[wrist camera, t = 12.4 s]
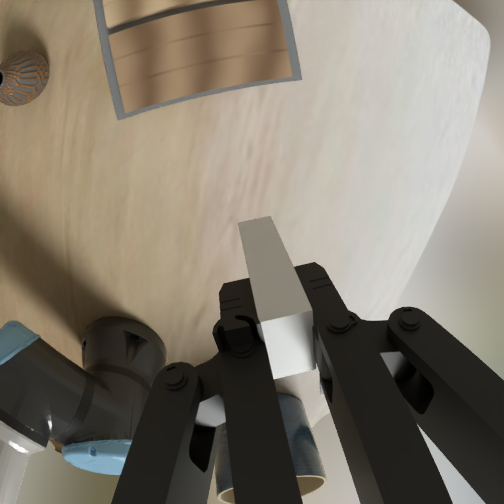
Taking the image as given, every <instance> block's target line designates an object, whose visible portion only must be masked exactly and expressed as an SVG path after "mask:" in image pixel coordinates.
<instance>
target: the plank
mask: <svg viewBox="0 0 504 504" xmlns="http://www.w3.org/2000/svg"><path fill="white" fill-rule="evenodd" d="M102 1H103V7H104V14H105V20H106V26H107V27H108V28H110V29H112V28H115V27H118V26H120V25H123V24H126V23H129V22H132V21H135V20H138V19H141V18H144V17H148V16H151V15H155V14H158V13H162V12H165V11H169V10H173V9H177V8H181V7H185V6H190V5H195V4H199V3H204V2H210V1H215V0H102Z"/></svg>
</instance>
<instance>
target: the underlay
mask: <svg viewBox="0 0 504 504" xmlns="http://www.w3.org/2000/svg"><path fill="white" fill-rule="evenodd" d="M245 1H254V0H215V1H210V2H204V3H199V4H195V5H190V6H185V7H181V8H177V9H173V10H169V11H165V12H162V13H158V14H155V15H151V16H148V17H144V18H141V19H138V20H135V21H132V22H129V23H126V24H123V25H120V26H118V27H115V28H112V29H110V28H108V27H107V26H106V20H105V14H104V7H103V1H102V0H94V6H95V12H96V19H97V25H98V31H99V36H100V42H101V47H102V52H103V57H104V62H105V67H106V72H107V76H108V81H109V85H110V90H111V94H112V98H113V102H114V106H115V110H116V114H117V118H118V120H121V119H124V118H127V117H130V116H133V115H136V114H139V113H142V112H146V111H149V110H152V109H156V108H159V107H163V106H166V105H170V104H174V103H177V102H181V101H185V100H189V99H193V98H198V97H202V96H206V95H211V94H215V93H220V92H225V91H230V90H235V89H241V88H247V87H252V86H259V85H265V84H272V83H279V82H287V81H296V80H302V76H301V70H300V64H299V59H298V53H297V48H296V43H295V38H294V33H293V28H292V23H291V18H290V13H289V9H288V4H287V0H277V1H278V6H279V10H280V15H281V20H282V25H283V29H284V34H285V39H286V44H287V49H288V55H289V60H290V66H291V71H292V77H287V78H279V79H271V80H264V81H258V82H252V83H246V84H240V85H234V86H229V87H224V88H219V89H214V90H210V91H205V92H201V93H197V94H192V95H188V96H184V97H180V98H176V99H173V100H169V101H165V102H162V103H158V104H155V105H151V106H148V107H145V108H142V109H138V110H135V111H132V112H129V113H126V114H125V110H124V106H123V102H122V98H121V94H120V89H119V85H118V81H117V76H116V72H115V67H114V62H113V57H112V52H111V47H110V42H109V37H108V36H109V35H111V34H114V33H117V32H119V31H122V30H125V29H128V28H131V27H134V26H137V25H140V24H143V23H147V22H150V21H153V20H157V19H160V18H164V17H168V16H171V15H175V14H179V13H184V12H188V11H193V10H197V9H202V8H207V7H213V6H218V5H224V4H231V3H238V2H245Z"/></svg>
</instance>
